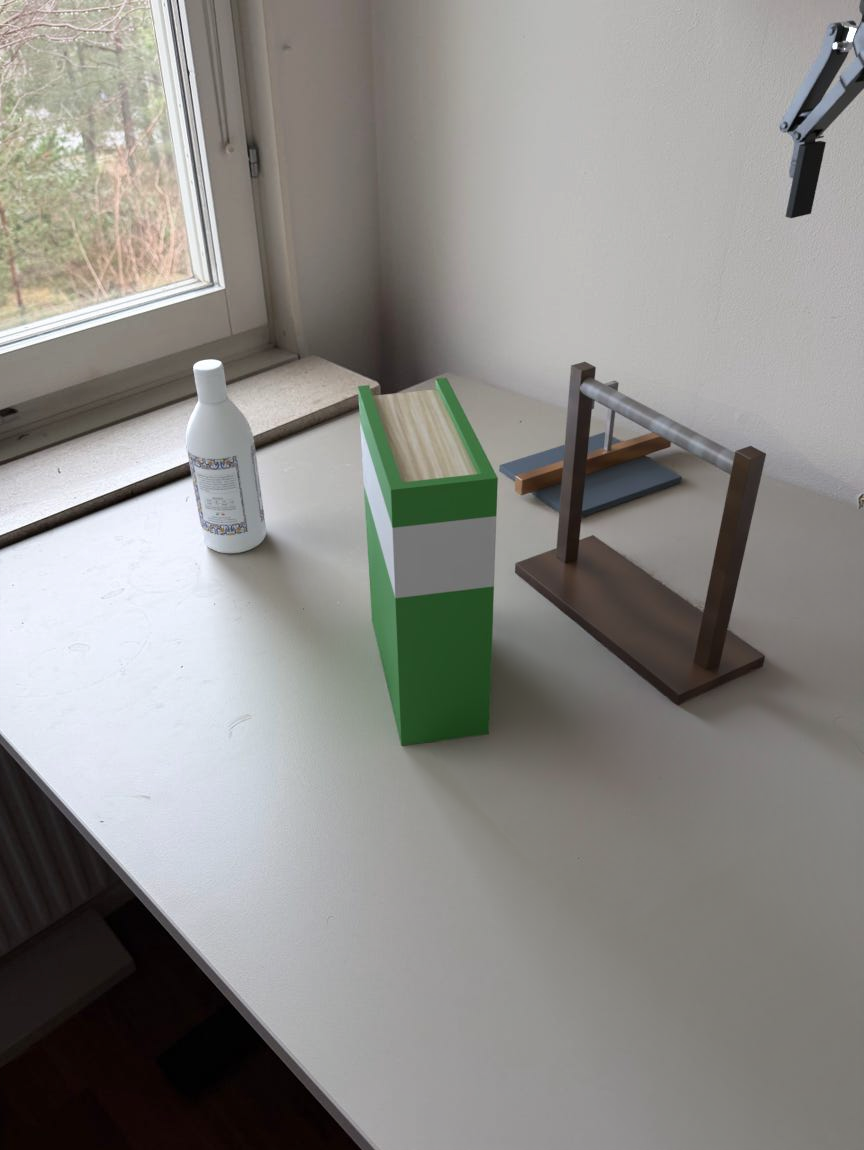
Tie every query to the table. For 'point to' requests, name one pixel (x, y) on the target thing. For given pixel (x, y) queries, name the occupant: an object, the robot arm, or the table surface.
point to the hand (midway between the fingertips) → (854, 230)
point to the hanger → (594, 456)
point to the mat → (598, 478)
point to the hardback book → (430, 559)
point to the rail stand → (629, 594)
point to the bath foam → (223, 466)
